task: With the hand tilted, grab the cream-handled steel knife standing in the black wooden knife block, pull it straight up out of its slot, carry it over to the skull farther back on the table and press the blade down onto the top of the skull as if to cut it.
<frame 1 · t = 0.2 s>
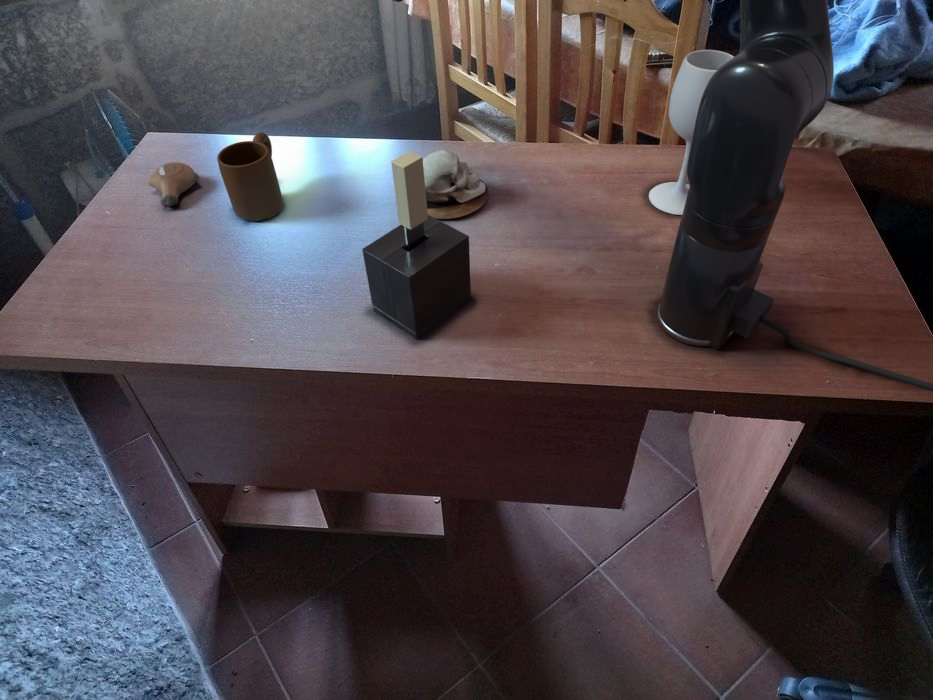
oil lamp: (176, 194, 105), on the table
knife block: (422, 304, 85), on the table
knife: (421, 298, 84), point 1 cm above the table, touching knife block
wineglass: (677, 200, 99), on the table
mug: (265, 201, 103), on the table
skull: (449, 199, 101), on the table
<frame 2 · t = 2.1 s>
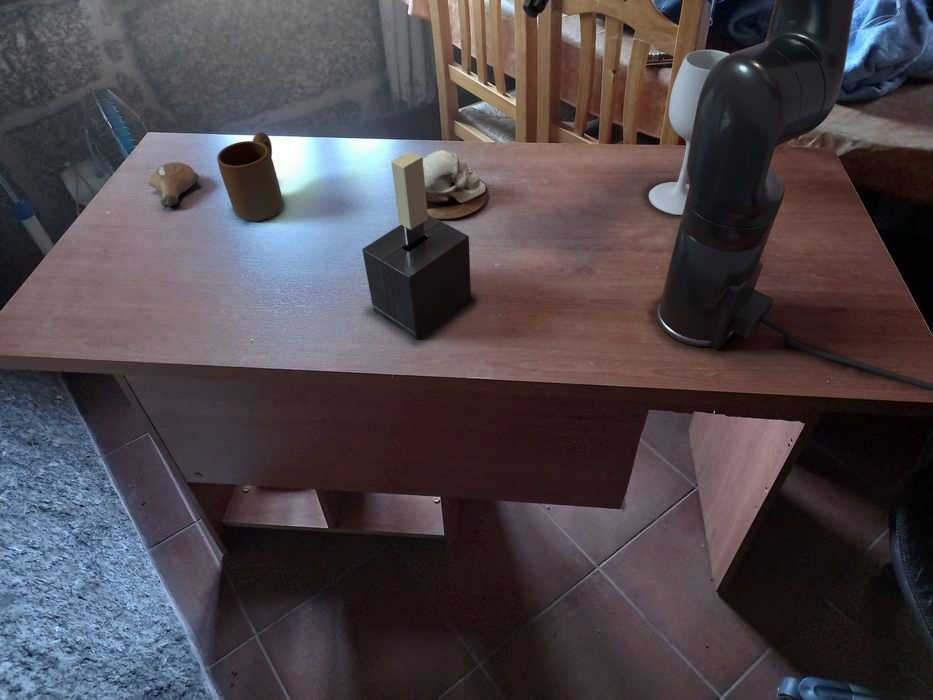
hand: (496, 4, 68), 32 cm above the table, tool tilted 45°, fingers open, 8 cm apart
nothing on the table moved.
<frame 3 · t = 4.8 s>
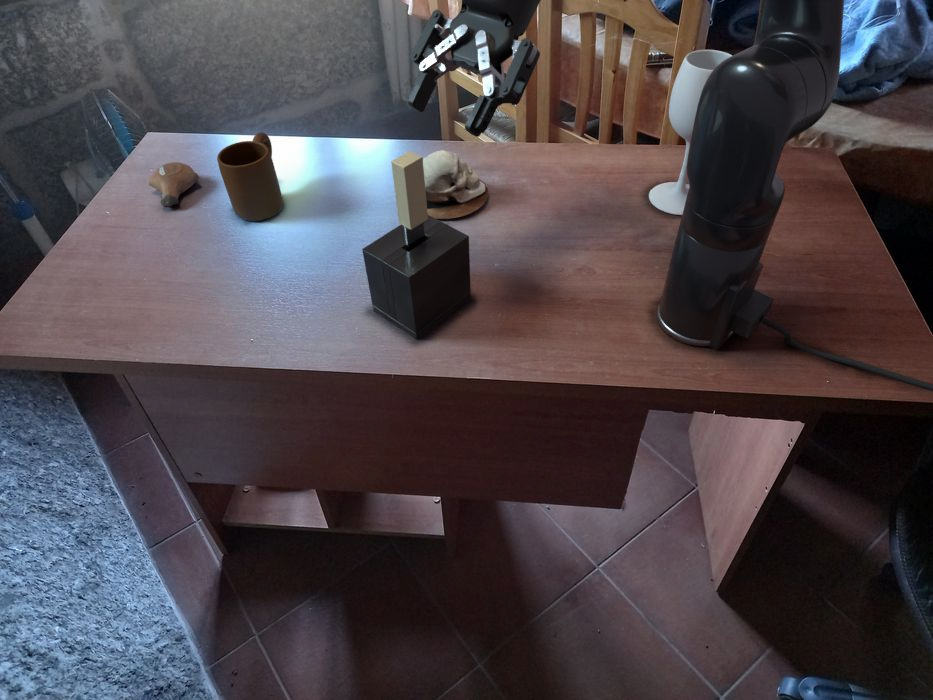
hand: (442, 120, 71), 23 cm above the table, tool tilted 45°, fingers open, 8 cm apart
nothing on the table moved.
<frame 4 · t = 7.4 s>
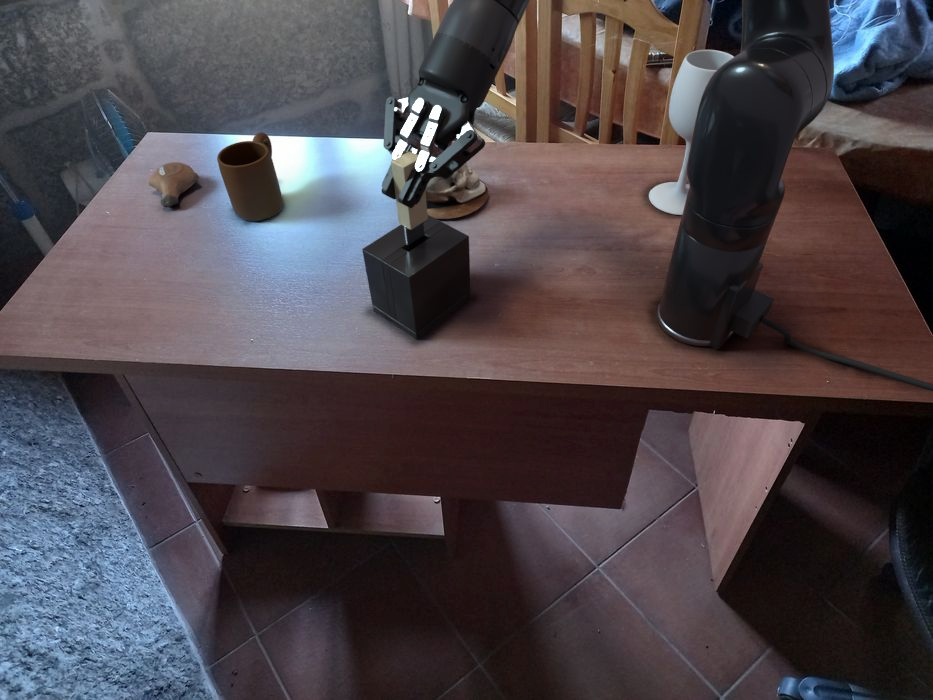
hand: (396, 200, 71), 17 cm above the table, tool tilted 45°, fingers closed on knife, 2 cm apart
knife: (421, 298, 84), point 1 cm above the table, touching gripper, knife block
everything else where it was.
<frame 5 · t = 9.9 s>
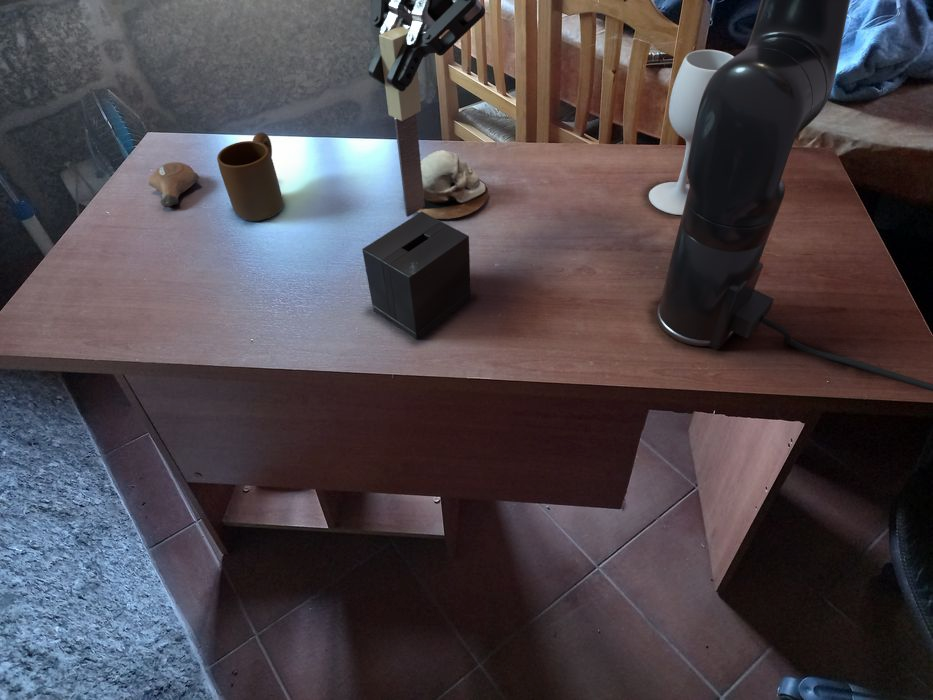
hand: (385, 82, 63), 29 cm above the table, tool tilted 45°, fingers closed on knife
knife: (415, 211, 76), point 13 cm above the table, touching gripper
everything else where it was.
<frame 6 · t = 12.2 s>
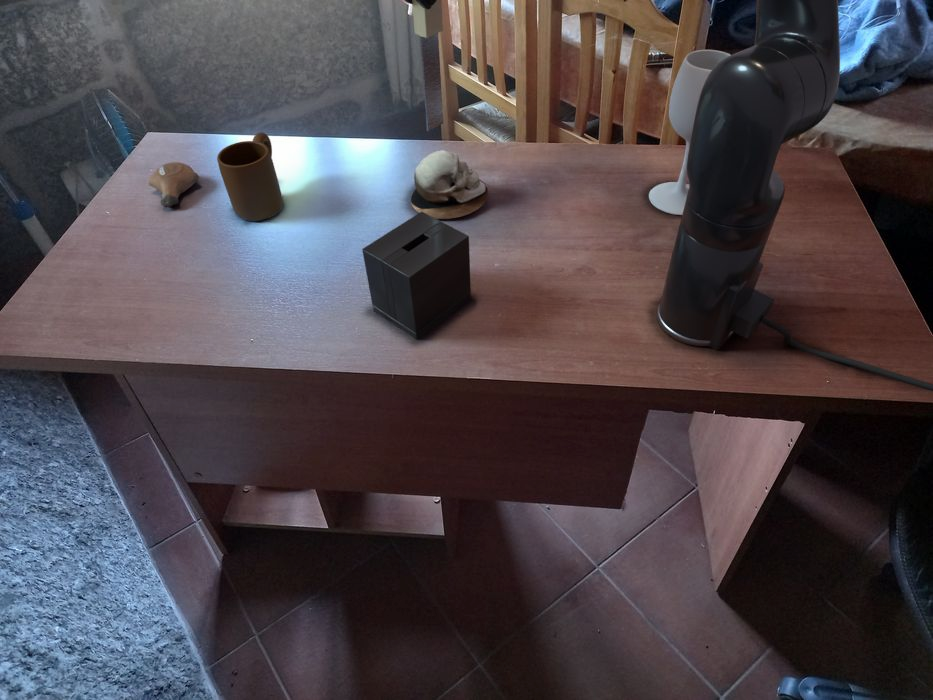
hand: (414, 1, 73), 31 cm above the table, tool tilted 45°, fingers closed on knife
knife: (435, 127, 86), point 15 cm above the table, touching gripper
everything else where it was.
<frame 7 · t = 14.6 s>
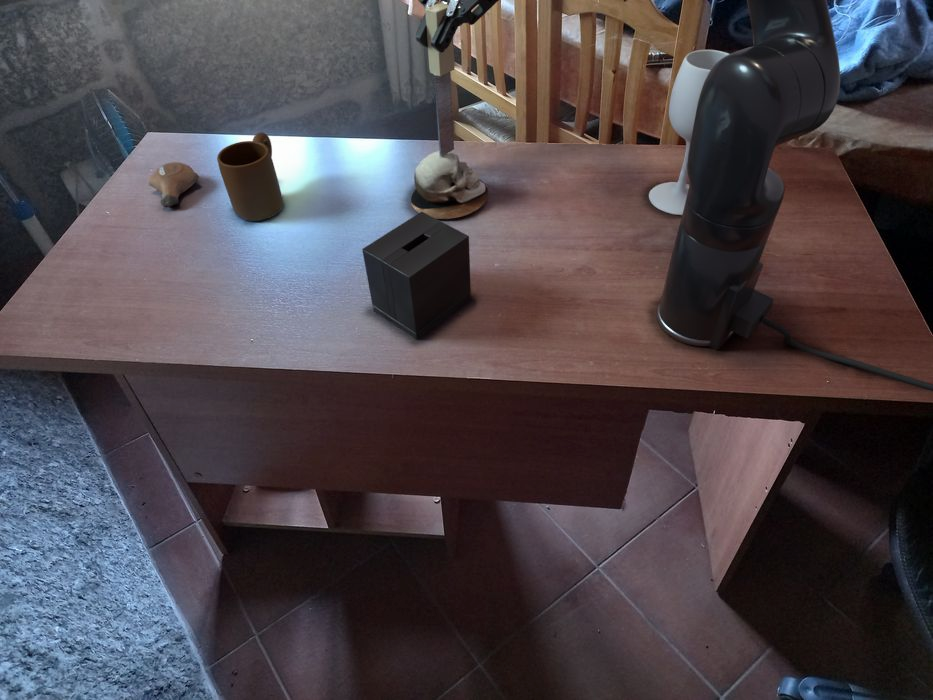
hand: (429, 46, 83), 24 cm above the table, tool tilted 45°, fingers closed on knife, 2 cm apart
knife: (446, 152, 96), point 8 cm above the table, touching skull, gripper
skull: (449, 199, 101), on the table, touching knife
everything else where it was.
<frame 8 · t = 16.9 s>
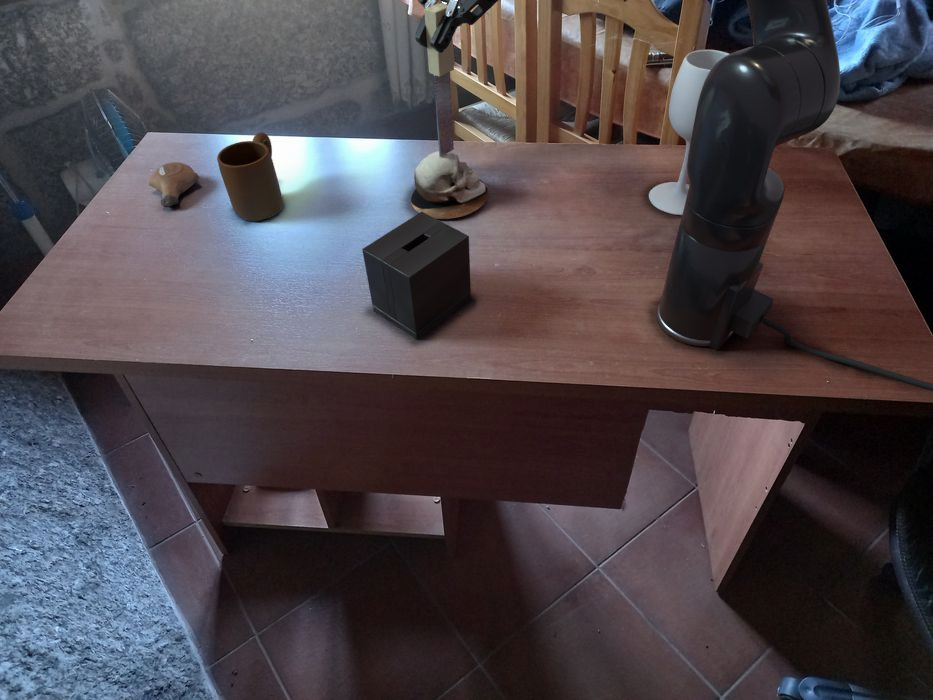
hand: (428, 46, 83), 24 cm above the table, tool tilted 45°, fingers closed on knife, 2 cm apart
knife: (446, 152, 96), point 8 cm above the table, touching skull, gripper
everything else where it was.
at the end: knife touching skull, gripper; the gripper is holding knife; skull moved 0.2 cm from its start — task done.
